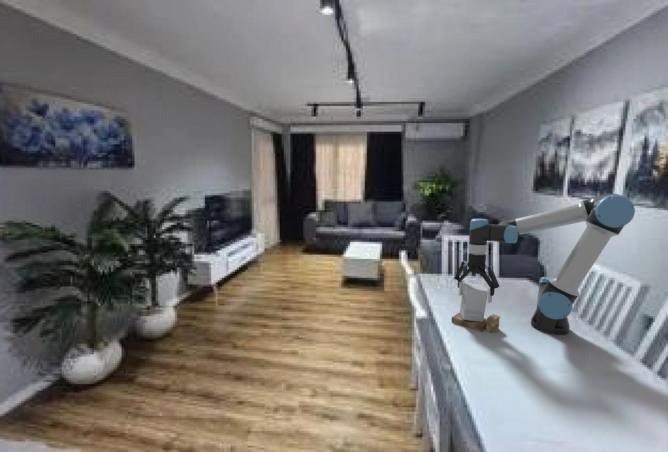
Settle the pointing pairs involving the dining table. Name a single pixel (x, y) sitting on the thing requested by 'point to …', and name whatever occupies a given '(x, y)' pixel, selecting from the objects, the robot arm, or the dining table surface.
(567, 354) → the dining table surface
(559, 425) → the dining table surface
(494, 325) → the bench dog
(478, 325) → the brown wooden slab
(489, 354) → the dining table surface
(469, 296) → the supplement box
